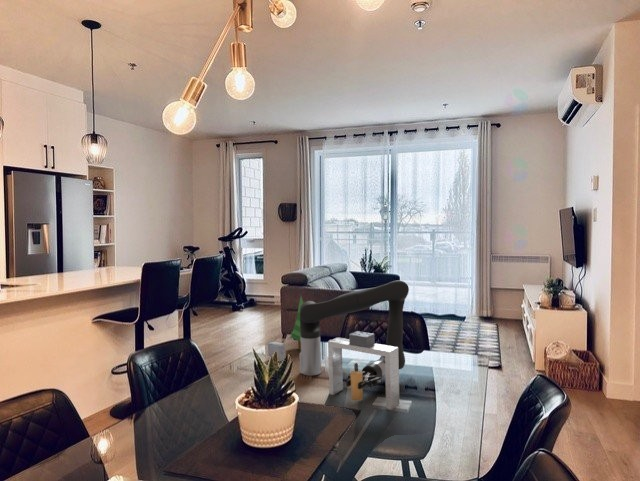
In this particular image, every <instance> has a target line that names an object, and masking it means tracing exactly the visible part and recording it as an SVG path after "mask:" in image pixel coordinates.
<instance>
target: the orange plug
mask: <svg viewBox="0 0 640 481" xmlns="http://www.w3.org/2000/svg"><path fill="white" fill-rule="evenodd" d="M353 365H354V369H353V370H352V372H351V371H350V372H351V373H349V374H350V375H351V385H350V396H351V397H350V399H351V400H353V401H362V400H363V399H364V387H363V388H361V389H358V383H360V382H361V381H363V378H362V372H361V371H362V370H359V365H358V363H357V362H355V363H354V364H353Z"/></svg>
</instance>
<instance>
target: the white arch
mask: <svg viewBox="0 0 640 481" xmlns="http://www.w3.org/2000/svg"><path fill="white" fill-rule="evenodd" d="M348 335H349V336H348V338H345V337H335V338H333V339H329V340H328V341H327V347H328V348H327V350H328V351H327V352H328V353H327V354H328V359H327V360H328V385H329V386H328V388H329V395H332V396H334V395H336V394H337V393H340V392H341V391H343V390H344V378H343V350H348V351H353V352H358V353H359V352H360V353H363V354H364V353H365V354H371V355H376V356H380V357H381V356H385V376H384V377H385V409H387V410H390V411H392V410H393V409H394V408H395V407H396V406H398V405H399V404H400V372H399V371H400V369H399V359H398V347H394V346H388V345H387V344H383V343H382V344H381V343H377V342H376V341H375V340H376V339H375V335H376V334H375V333H371V332H365V331H360V330H356V331H354V332H351V333H349V334H348ZM375 342H376V343H375Z"/></svg>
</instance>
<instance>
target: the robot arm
mask: <svg viewBox="0 0 640 481" xmlns="http://www.w3.org/2000/svg"><path fill="white" fill-rule="evenodd" d="M409 290H410V289H409V285H408V284H407V283H406V282H405V281H403V280H399V279H398V280H393V281H390V282H387V283H385V284H381V285H378V286H376V287H370V288H364V289H359V290H355V291H351V292H350V291H349V292H346V293H344V294H341V295H337V296H336V297H334V298H332V299H330V300H326V301H322V302H315V301H312V300H307V301H303V304H302V305H301V307H300V336H301V350H300V352H299V357H298V358H299V359H298V360H299V373H300V374H301V375H305V376H311V377H312V376H313V377H314V376H317V375H320V374H321V373H322V352H321V350H322V348H321V322H320V321H323V320H324V319H325V320H326V319H328V318H332V317H336V316H341V315H342V316H343V315H347V314H351V313H356V312H360V311H364V310H367V309H368V308H371V307H373V306H375V305H377V304H379V303H382V302H387V301H388V310H389V311H388V323H387V329H386V330H387V331H386V341H385V343H386V345H388V346H394V347H398V359H399V370H402V369H404V366H405V364H406V357H405V352H404V346H403V336H404V319H403V315H404V314H403V312H404V307H405V306H404V305H405V302H406V299H407V297H408V296H409V295H408V294H409ZM352 371H353V370H352ZM352 371H350V373H351V372H352ZM360 371H361V372H362V378H363V381H361V382H360V383H358V389H361V388H363V389H364V388H365V387H369V388H373V387H375V386H378V385H380V384H381V385H382V383H381V382H382V379H384V377H385V356H380V357H379V359H376V360H375V361H372V362H370V363H369V364H367V365H365V366H364V367H363V368H362V370H360ZM350 373H348V375H347V380H346V382H345V383H346V386H347V387H351V375H350Z"/></svg>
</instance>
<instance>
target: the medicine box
mask: <svg viewBox="0 0 640 481" xmlns="http://www.w3.org/2000/svg"><path fill="white" fill-rule="evenodd" d="M267 352H268V355H267V356H270V357H271V356H272V355H273V354H274V352H277V355H278V360H279V363H281V362H283V361H282V360H283V359H284V358H286V344H285V343H284V342H278V341H271V342H269V343H267ZM280 361H281V362H280Z"/></svg>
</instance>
